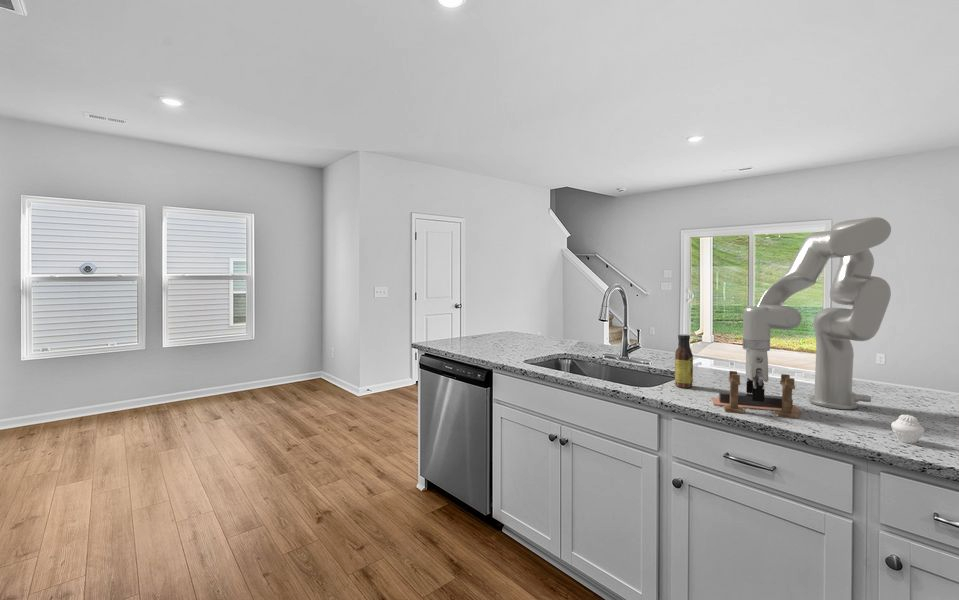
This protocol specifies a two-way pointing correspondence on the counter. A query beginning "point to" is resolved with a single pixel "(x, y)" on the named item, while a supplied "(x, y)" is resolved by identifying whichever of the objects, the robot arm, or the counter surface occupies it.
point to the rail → (747, 400)
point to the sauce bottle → (683, 363)
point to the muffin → (907, 429)
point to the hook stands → (785, 412)
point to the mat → (717, 403)
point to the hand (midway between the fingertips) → (754, 397)
